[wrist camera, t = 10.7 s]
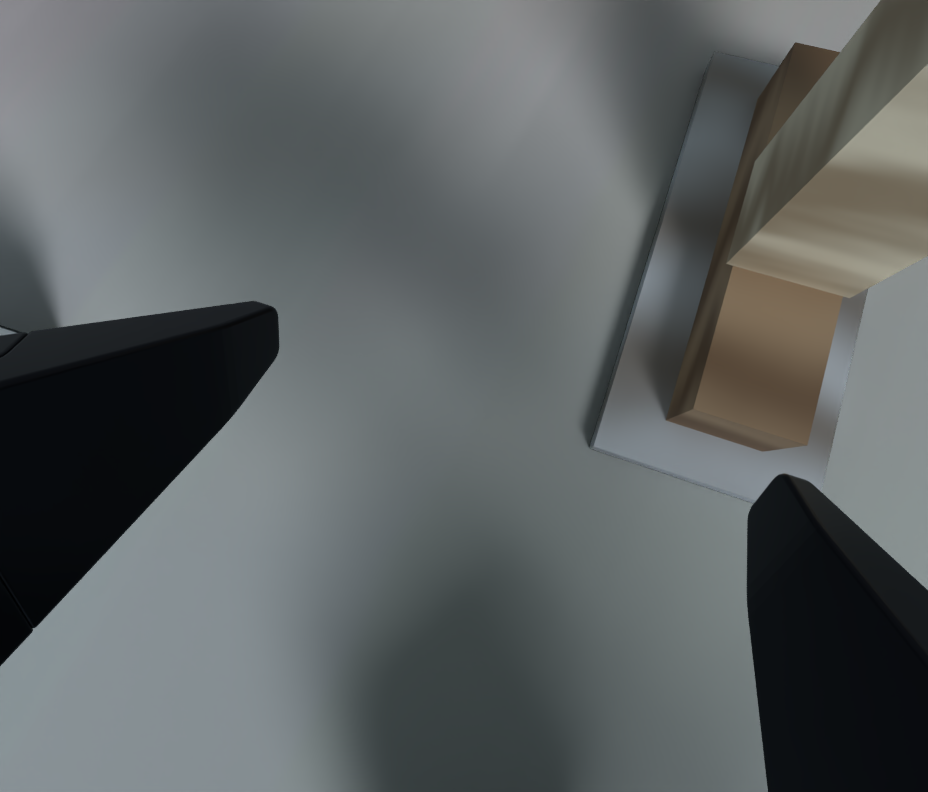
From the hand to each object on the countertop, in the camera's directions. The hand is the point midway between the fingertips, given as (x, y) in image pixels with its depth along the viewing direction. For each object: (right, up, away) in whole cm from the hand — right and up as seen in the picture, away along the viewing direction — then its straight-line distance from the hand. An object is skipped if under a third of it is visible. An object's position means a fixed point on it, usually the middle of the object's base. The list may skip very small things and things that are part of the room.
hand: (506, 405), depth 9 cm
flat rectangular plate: (+12, +6, +14) cm, 20 cm away
